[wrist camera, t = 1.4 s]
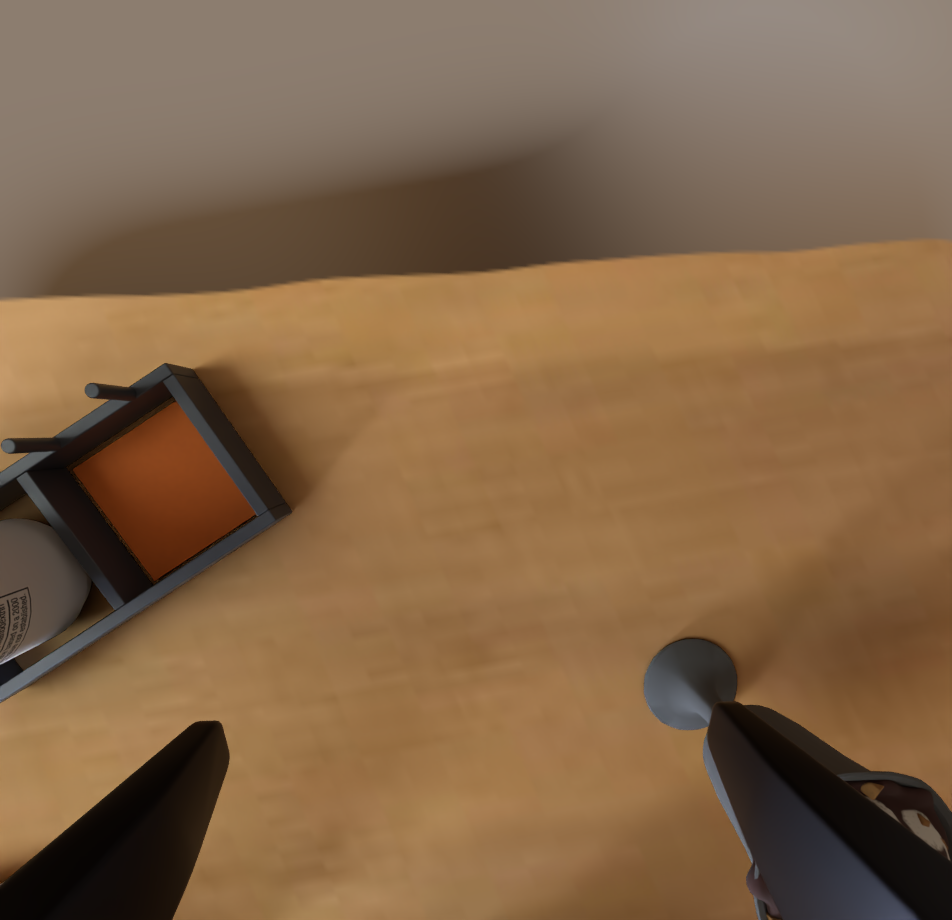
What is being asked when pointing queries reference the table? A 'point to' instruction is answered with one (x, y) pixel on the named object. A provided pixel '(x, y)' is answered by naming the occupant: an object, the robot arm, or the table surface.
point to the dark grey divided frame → (88, 528)
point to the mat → (164, 491)
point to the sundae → (715, 680)
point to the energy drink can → (36, 586)
